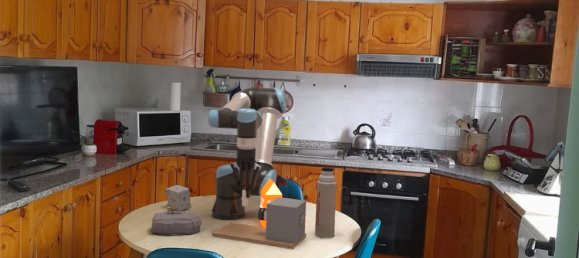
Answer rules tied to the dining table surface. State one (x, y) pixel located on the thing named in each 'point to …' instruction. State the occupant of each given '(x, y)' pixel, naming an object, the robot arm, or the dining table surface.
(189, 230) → the grey rounded bag
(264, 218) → the shaft
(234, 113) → the robot arm
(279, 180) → the decorative mushroom
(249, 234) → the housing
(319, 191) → the thermos bottle
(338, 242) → the dining table surface
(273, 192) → the orange juice
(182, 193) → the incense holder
